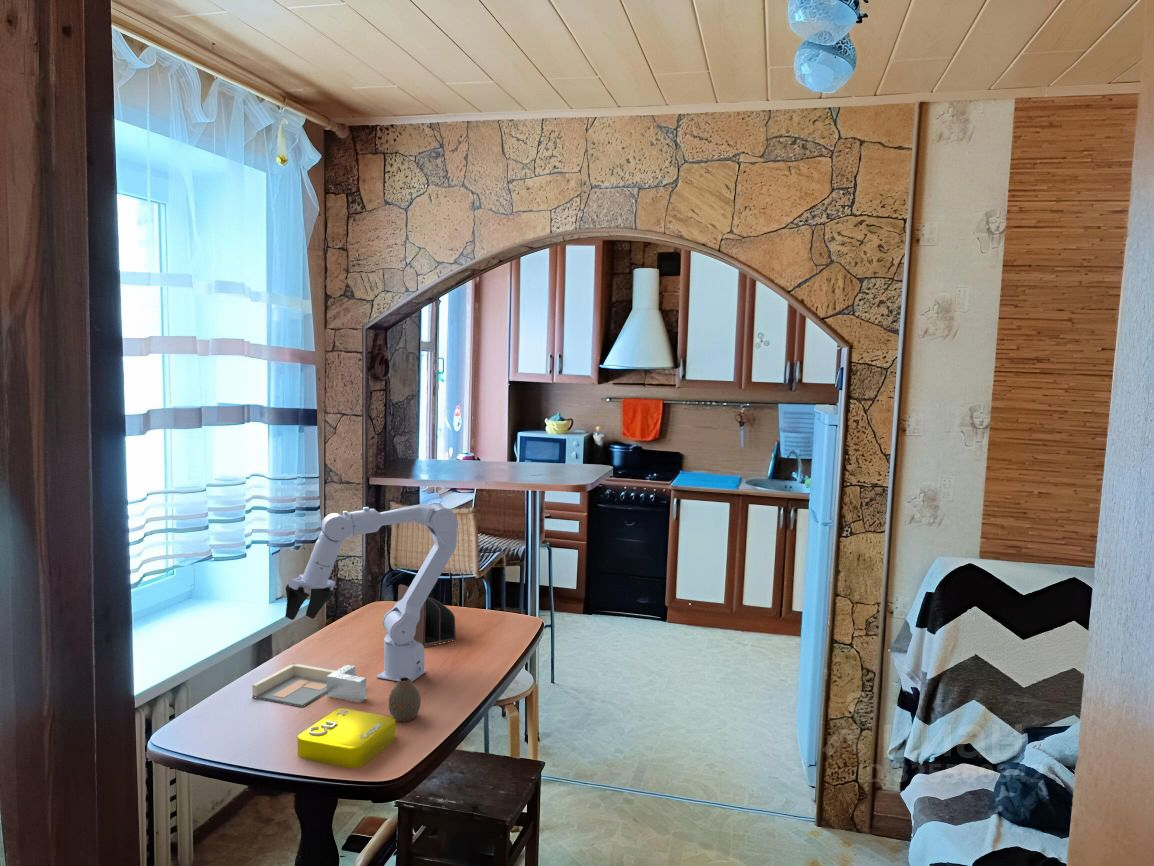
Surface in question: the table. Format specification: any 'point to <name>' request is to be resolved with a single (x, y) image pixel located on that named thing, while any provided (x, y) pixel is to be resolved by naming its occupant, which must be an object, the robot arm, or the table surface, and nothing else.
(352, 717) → the element tile
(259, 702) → the table surface
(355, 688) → the bracket
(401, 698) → the vase
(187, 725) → the table surface
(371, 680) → the table surface
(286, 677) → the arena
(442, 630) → the letter holder
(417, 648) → the robot arm
